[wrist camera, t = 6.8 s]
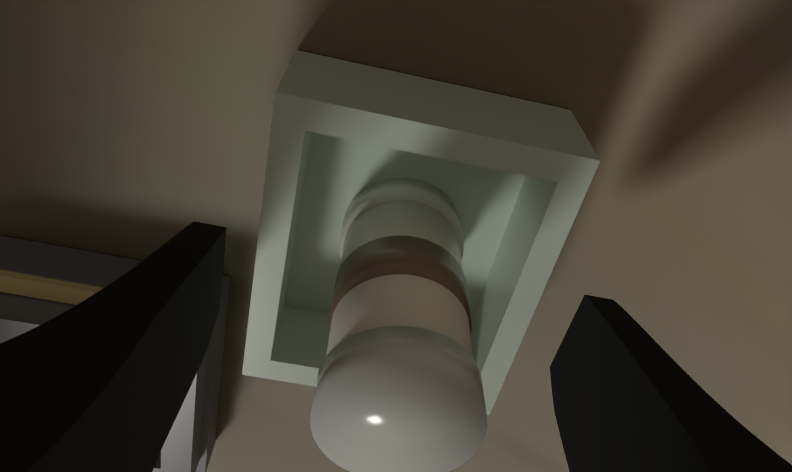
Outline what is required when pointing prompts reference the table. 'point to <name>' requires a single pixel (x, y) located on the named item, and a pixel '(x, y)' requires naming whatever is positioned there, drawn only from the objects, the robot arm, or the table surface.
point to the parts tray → (416, 159)
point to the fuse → (400, 338)
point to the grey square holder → (78, 280)
